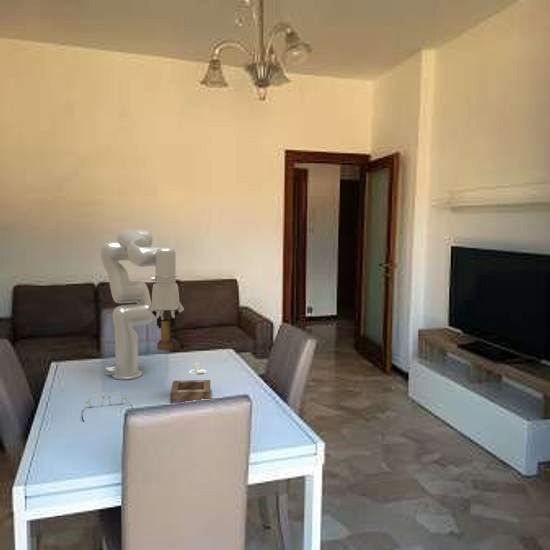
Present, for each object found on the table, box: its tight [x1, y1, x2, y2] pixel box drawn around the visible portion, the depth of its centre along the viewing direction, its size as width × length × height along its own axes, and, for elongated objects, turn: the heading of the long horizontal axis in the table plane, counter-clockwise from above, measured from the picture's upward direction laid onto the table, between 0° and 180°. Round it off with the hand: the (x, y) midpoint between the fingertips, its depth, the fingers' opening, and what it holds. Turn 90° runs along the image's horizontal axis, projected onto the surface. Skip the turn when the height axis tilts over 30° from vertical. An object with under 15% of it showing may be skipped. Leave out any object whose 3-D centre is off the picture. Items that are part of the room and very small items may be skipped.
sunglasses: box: [81, 392, 134, 423], centre depth 184 cm, size 17×15×5 cm
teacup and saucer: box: [188, 362, 207, 375], centre depth 237 cm, size 9×8×4 cm
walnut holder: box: [169, 379, 211, 404], centre depth 203 cm, size 15×15×4 cm
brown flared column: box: [156, 310, 176, 351], centre depth 199 cm, size 7×6×18 cm
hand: (165, 327), depth 199 cm, fingers closed on brown flared column, 3 cm apart
